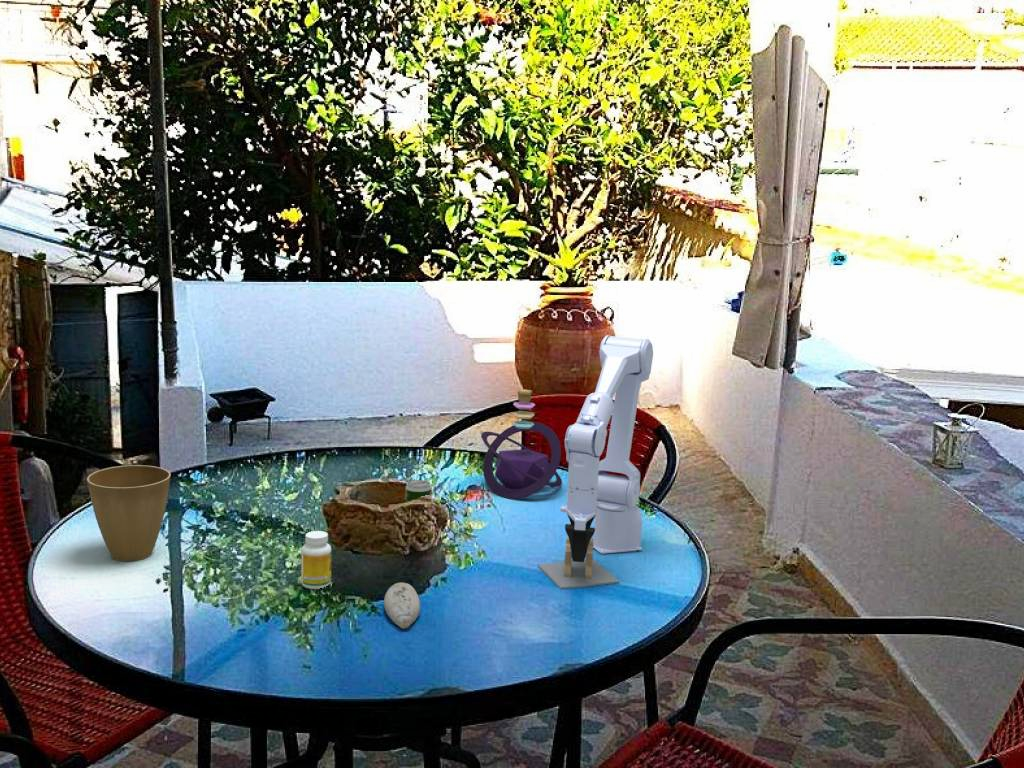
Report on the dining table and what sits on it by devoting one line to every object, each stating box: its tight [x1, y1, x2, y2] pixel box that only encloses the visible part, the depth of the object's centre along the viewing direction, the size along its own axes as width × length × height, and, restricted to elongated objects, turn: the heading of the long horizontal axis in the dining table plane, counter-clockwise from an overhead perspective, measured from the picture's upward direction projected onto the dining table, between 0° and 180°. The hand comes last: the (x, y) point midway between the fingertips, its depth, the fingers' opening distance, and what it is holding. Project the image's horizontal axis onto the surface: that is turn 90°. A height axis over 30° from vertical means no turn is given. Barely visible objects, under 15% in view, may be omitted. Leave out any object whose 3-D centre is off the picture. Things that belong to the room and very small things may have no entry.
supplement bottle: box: [300, 530, 332, 590], centre depth 181 cm, size 5×5×10 cm
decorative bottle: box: [480, 389, 563, 500], centre depth 245 cm, size 22×21×25 cm
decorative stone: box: [383, 582, 421, 630], centre depth 171 cm, size 6×16×3 cm, turn 11°
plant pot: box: [86, 464, 172, 562], centre depth 191 cm, size 15×15×16 cm
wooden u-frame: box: [564, 536, 594, 579], centre depth 191 cm, size 5×5×6 cm
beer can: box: [404, 479, 432, 501], centre depth 207 cm, size 5×5×12 cm
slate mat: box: [537, 558, 620, 590], centre depth 192 cm, size 12×12×1 cm
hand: (578, 554), depth 191 cm, fingers open, 7 cm apart
